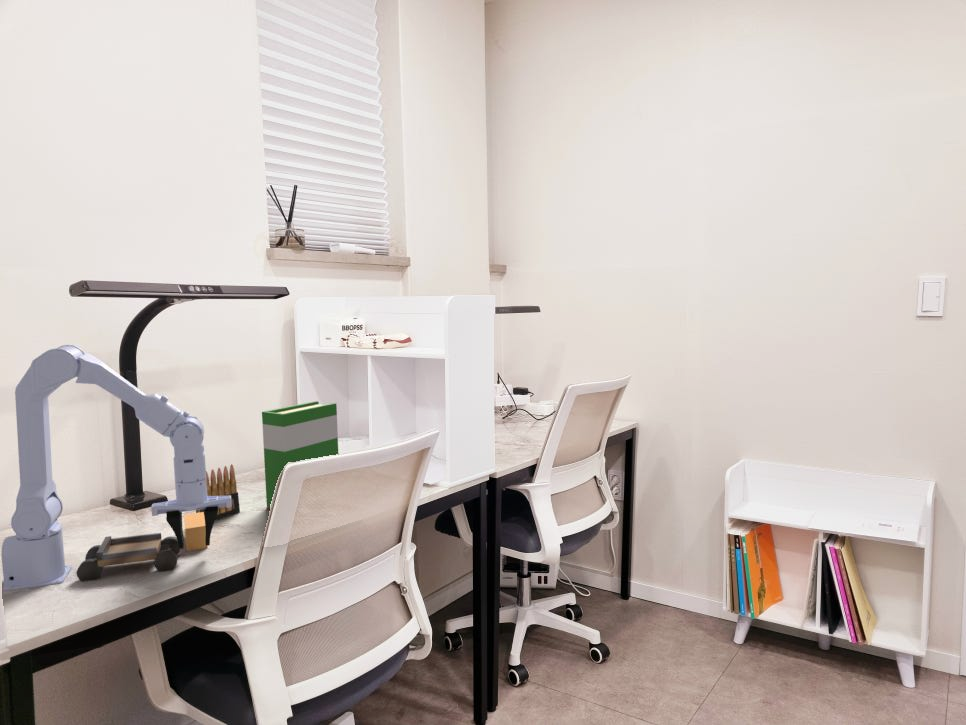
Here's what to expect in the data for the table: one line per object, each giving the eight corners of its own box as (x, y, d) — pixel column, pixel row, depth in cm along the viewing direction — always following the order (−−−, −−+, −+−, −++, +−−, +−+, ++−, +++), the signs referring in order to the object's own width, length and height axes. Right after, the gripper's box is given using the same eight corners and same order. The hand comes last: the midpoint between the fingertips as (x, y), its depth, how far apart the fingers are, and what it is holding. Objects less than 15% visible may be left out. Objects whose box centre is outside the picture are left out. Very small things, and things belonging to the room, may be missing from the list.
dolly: (77, 584, 129) (75, 555, 129) (87, 566, 138) (85, 539, 137) (177, 570, 135) (175, 543, 134) (181, 554, 143) (179, 528, 143)
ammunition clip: (235, 511, 170) (232, 462, 169) (240, 512, 169) (237, 463, 168) (196, 524, 162) (192, 473, 160) (201, 525, 161) (197, 474, 159)
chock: (186, 552, 145) (185, 528, 144) (185, 536, 154) (183, 514, 153) (207, 548, 146) (206, 525, 146) (204, 533, 155) (203, 511, 155)
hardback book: (319, 489, 187) (316, 401, 184) (340, 493, 183) (336, 403, 180) (266, 508, 172) (261, 411, 170) (287, 512, 168) (282, 414, 166)
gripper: (147, 488, 132) (152, 558, 133) (229, 480, 137) (233, 547, 138) (152, 478, 139) (156, 545, 140) (230, 471, 143) (233, 535, 145)
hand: (195, 545), depth 140 cm, fingers open, 4 cm apart
